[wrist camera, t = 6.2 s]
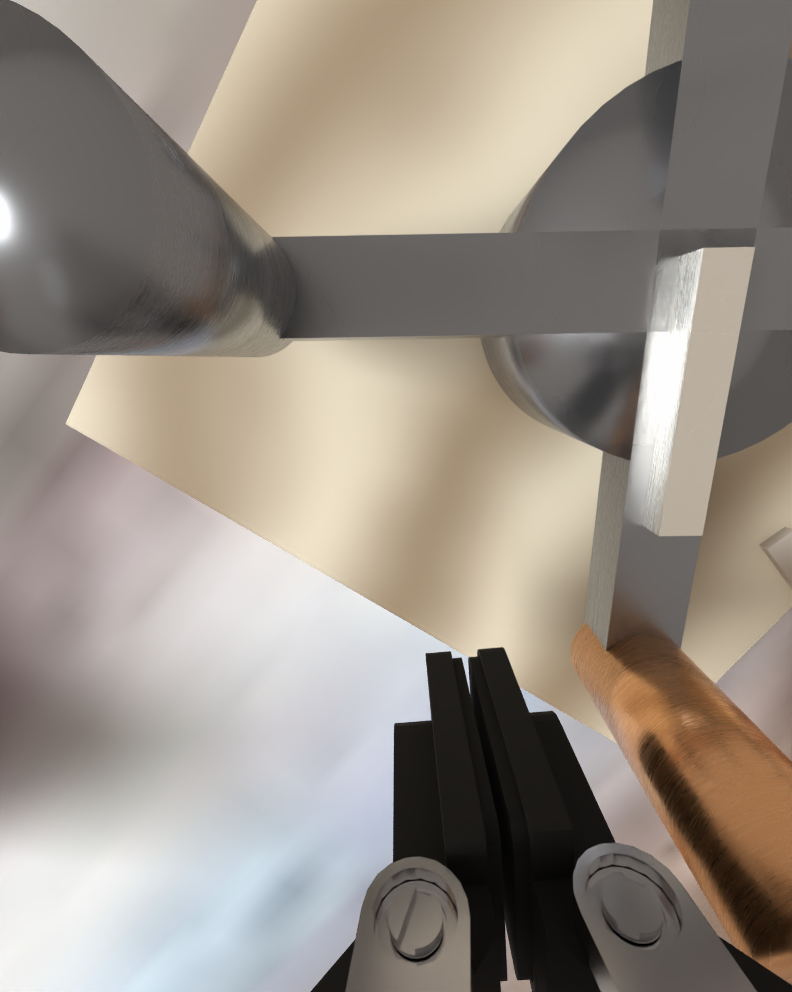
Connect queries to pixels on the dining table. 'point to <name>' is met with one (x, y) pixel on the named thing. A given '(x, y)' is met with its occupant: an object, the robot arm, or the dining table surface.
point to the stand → (425, 340)
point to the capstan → (498, 347)
